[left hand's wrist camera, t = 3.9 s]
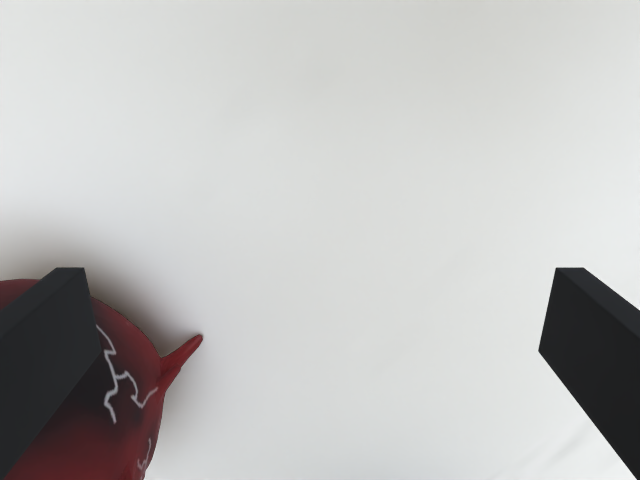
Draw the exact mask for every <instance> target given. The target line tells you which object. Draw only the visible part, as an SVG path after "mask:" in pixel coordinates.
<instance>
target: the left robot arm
mask: <svg viewBox="0 0 640 480" xmlns="http://www.w3.org/2000/svg"><path fill="white" fill-rule="evenodd" d="M101 351H102V350H101V345H100V340H99V336H98V331H97V326H96V321H95V317H94V312H93V307H92V303H91V298H90V293H89V288H88V284H87V279H86V274H85V270H84V268H55V269H54V270H53V271H52V272H50V273H49V274H48V275H46V276H45V277H44V278H42V279H41V280H40V281H38V282H37V283H36V284H34V285H33V286H32V287H31V288H29V289H28V290H27V291H25V292H24V293H23V294H21V295H20V296H19V297H17V298H16V299H15V300H14V301H12V302H11V303H10V304H8V305H7V306H6V307H4V308H3V309H2V310H0V480H3V479H4V478H5V476H6V475H7V474H8V473H9V471H10V470H11V469H12V467H13V466H14V465H15V463H16V462H17V461H18V460H19V458H20V457H21V456H22V454H23V453H24V452H25V450H26V449H27V448H28V446H29V445H30V444H31V443H32V441H33V440H34V439H35V437H36V436H37V435H38V433H39V432H40V431H41V430H42V428H43V427H44V426H45V424H46V423H47V422H48V420H49V419H50V418H51V417H52V415H53V414H54V413H55V411H56V410H57V409H58V407H59V406H60V405H61V403H62V402H63V401H64V400H65V398H66V397H67V396H68V394H69V393H70V392H71V390H72V389H73V388H74V387H75V385H76V384H77V383H78V381H79V380H80V379H81V377H82V376H83V375H84V374H85V372H86V371H87V370H88V368H89V367H90V366H91V364H92V363H93V362H94V360H95V359H96V358H97V357H98V355H99V354H100V353H101ZM538 351H539V353H540V354H541V355H542V357H543V358H544V359H545V360H546V362H547V363H548V364H549V366H550V367H551V368H552V370H553V371H554V372H555V374H556V375H557V376H558V377H559V379H560V380H561V381H562V383H563V384H564V385H565V387H566V388H567V389H568V390H569V392H570V393H571V394H572V396H573V397H574V398H575V400H576V401H577V402H578V403H579V405H580V406H581V407H582V409H583V410H584V411H585V413H586V414H587V415H588V417H589V418H590V419H591V420H592V422H593V423H594V424H595V426H596V427H597V428H598V430H599V431H600V432H601V433H602V435H603V436H604V437H605V439H606V440H607V441H608V443H609V444H610V445H611V446H612V448H613V449H614V450H615V452H616V453H617V454H618V456H619V457H620V458H621V460H622V461H623V462H624V463H625V465H626V466H627V467H628V469H629V470H630V471H631V473H632V474H633V475H634V476H635V478H636V479H637V480H640V310H638V309H637V308H636V307H634V306H633V305H632V304H630V303H629V302H628V301H626V300H625V299H624V298H623V297H621V296H620V295H619V294H617V293H616V292H615V291H613V290H612V289H611V288H609V287H608V286H607V285H606V284H604V283H603V282H602V281H600V280H599V279H598V278H596V277H595V276H594V275H592V274H591V273H590V272H588V271H587V270H586V269H585V268H556V270H555V274H554V279H553V284H552V288H551V293H550V298H549V303H548V307H547V312H546V317H545V321H544V326H543V331H542V336H541V340H540V345H539V350H538Z"/></svg>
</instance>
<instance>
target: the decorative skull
mask: <svg viewBox="0 0 640 480" xmlns="http://www.w3.org/2000/svg"><path fill="white" fill-rule="evenodd" d="M38 281H40V280H35V279H16V280H6V281H0V310H2V309H3V308H4V307H6V306H7V305H8V304H10V303H11V302H12V301H14V300H15V299H16V298H17V297H19V296H20V295H21V294H23V293H24V292H25V291H27V290H28V289H29V288H31V287H32V286H33V285H34V284H36V283H37V282H38ZM90 298H91V303H92V307H93V312H94V317H95V321H96V326H97V331H98V336H99V340H100V345H101V350H102V351H101V353H100V354H99V355H98V357H97V358H96V359H95V360H94V362H93V363H92V364H91V366H90V367H89V368H88V370H87V371H86V372H85V374H84V375H83V376H82V377H81V379H80V380H79V381H78V383H77V384H76V385H75V387H74V388H73V389H72V390H71V392H70V393H69V394H68V396H67V397H66V398H65V400H64V401H63V402H62V403H61V405H60V406H59V407H58V409H57V410H56V411H55V413H54V414H53V415H52V417H51V418H50V419H49V420H48V422H47V423H46V424H45V426H44V427H43V428H42V430H41V431H40V432H39V433H38V435H37V436H36V437H35V439H34V440H33V441H32V443H31V444H30V445H29V446H28V448H27V449H26V450H25V452H24V453H23V454H22V456H21V457H20V458H19V460H18V461H17V462H16V463H15V465H14V466H13V467H12V469H11V470H10V471H9V473H8V474H7V475H6V476H5V478H4V479H3V480H143V479H144V477H145V471H146V469H147V467H148V466H149V464H150V462H151V460H152V457H153V454H154V450H155V447H156V443H157V439H158V433H159V428H160V423H161V418H162V410H163V402H164V396H165V392H166V390H167V389H168V387H169V386H170V384H171V383H172V382H173V380H174V379H175V377H176V376H177V374H178V373H179V372H180V369H181V367H182V365H183V364H184V363H185V362H186V360H187V359H188V358H189V357H190V356H191V354H192V353H193V352H194V351H195V350H196V349H197V348H198V347H199V345H200V344H201V342H202V340H203V338H202V336H201V335H197V336H195V337H194V338H192V339H190V340H189V341H187V342H186V343H185V344H183V345H182V346H181V347H180V348H178V349H177V350H176V351H174V352H172V353H171V354H169V355H167V356H166V357H163V358H161V357H160V356H159V355H158V353H157V351H156V349H155V348H154V346H153V345H152V343H151V342H150V341H149V339H148V338H147V337H146V335H145V334H144V333H142V332H141V331H140V330H139V329H138V328H137V327H136V326H135V325H133V324H132V323H131V322H130V321H129V320H127V319H126V318H125V317H124V316H122V315H121V314H120V313H118V312H117V311H115V310H114V309H112V308H111V307H109V306H107V305H106V304H104V303H102V302H100V301H98V300H97V299H95V298H93V297H91V296H90Z"/></svg>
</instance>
